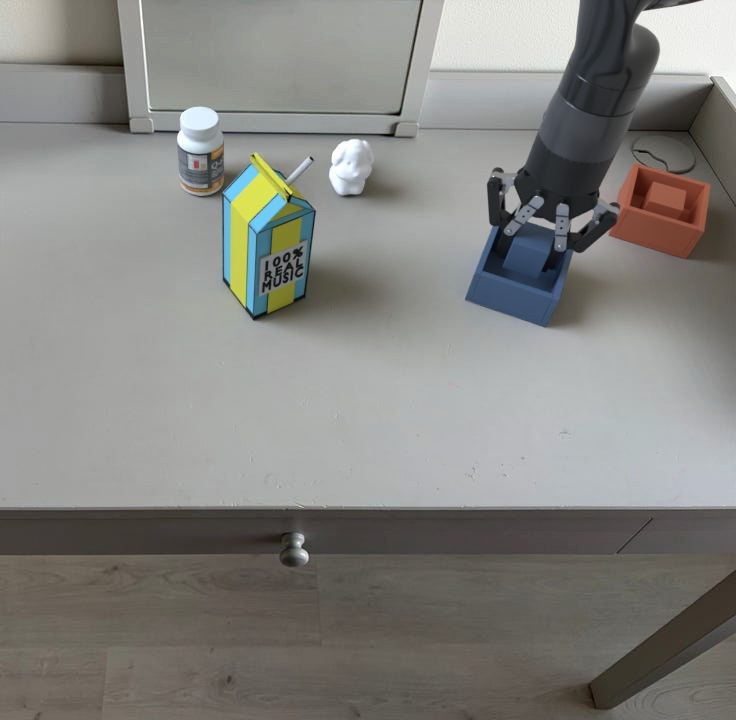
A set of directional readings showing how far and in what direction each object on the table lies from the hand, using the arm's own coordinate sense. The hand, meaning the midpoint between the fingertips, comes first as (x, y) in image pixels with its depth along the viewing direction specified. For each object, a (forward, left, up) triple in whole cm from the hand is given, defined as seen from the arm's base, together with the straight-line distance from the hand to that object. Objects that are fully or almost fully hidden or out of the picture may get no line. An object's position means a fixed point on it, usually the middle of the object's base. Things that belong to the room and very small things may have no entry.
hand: (524, 260), depth 88 cm
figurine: (+24, -8, -5) cm, 26 cm away
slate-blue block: (0, 0, 0) cm, 0 cm away
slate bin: (0, 0, -4) cm, 4 cm away
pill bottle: (+41, 0, -5) cm, 41 cm away
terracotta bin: (-14, -18, -4) cm, 23 cm away
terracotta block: (-14, -18, -4) cm, 23 cm away
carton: (+26, +13, -5) cm, 29 cm away
